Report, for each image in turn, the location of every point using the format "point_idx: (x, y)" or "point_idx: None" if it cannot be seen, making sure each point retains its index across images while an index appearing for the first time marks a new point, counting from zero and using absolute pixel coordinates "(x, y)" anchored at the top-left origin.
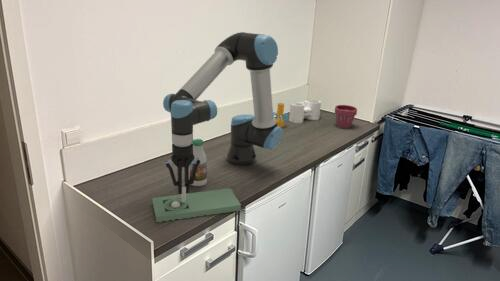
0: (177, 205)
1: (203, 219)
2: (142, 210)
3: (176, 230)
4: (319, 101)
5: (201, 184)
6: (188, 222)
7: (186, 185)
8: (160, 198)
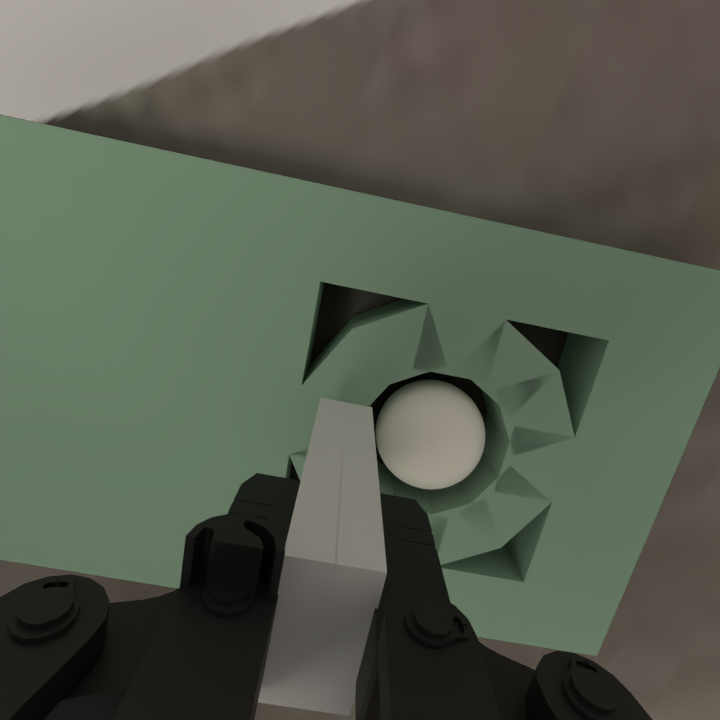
0: (433, 400)
1: (220, 90)
2: (695, 537)
3: (592, 12)
4: None
5: None
6: (402, 114)
7: (256, 583)
8: (527, 618)
